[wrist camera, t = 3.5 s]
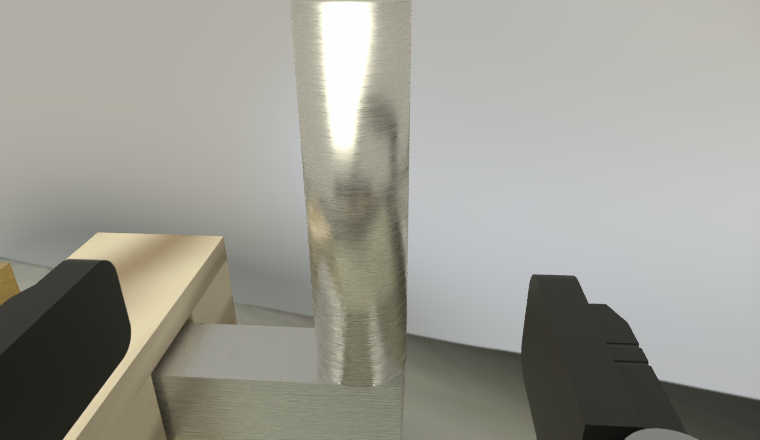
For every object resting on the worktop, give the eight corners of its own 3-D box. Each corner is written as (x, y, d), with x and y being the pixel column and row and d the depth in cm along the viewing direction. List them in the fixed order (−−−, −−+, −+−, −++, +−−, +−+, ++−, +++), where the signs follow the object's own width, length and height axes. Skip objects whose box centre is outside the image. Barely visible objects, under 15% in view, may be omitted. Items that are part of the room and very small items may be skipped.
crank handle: (406, 389, 22) (413, -6, 16) (403, 454, 20) (409, 3, 13) (-85, 364, 24) (-264, -3, 17) (-155, 420, 21) (-400, 5, 15)
